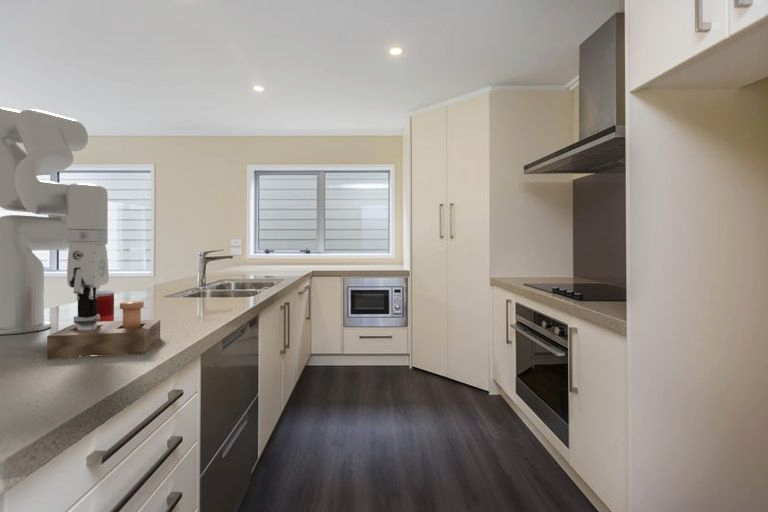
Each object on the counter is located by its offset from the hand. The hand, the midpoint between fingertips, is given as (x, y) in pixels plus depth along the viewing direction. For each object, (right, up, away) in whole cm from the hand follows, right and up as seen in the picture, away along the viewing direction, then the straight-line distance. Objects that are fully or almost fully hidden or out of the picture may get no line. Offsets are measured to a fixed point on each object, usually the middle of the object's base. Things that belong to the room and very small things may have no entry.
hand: (87, 316), depth 87 cm
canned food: (-10, -7, +16) cm, 20 cm away
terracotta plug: (+8, -4, +3) cm, 10 cm away
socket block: (+4, -8, +2) cm, 9 cm away
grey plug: (0, -7, 0) cm, 7 cm away
